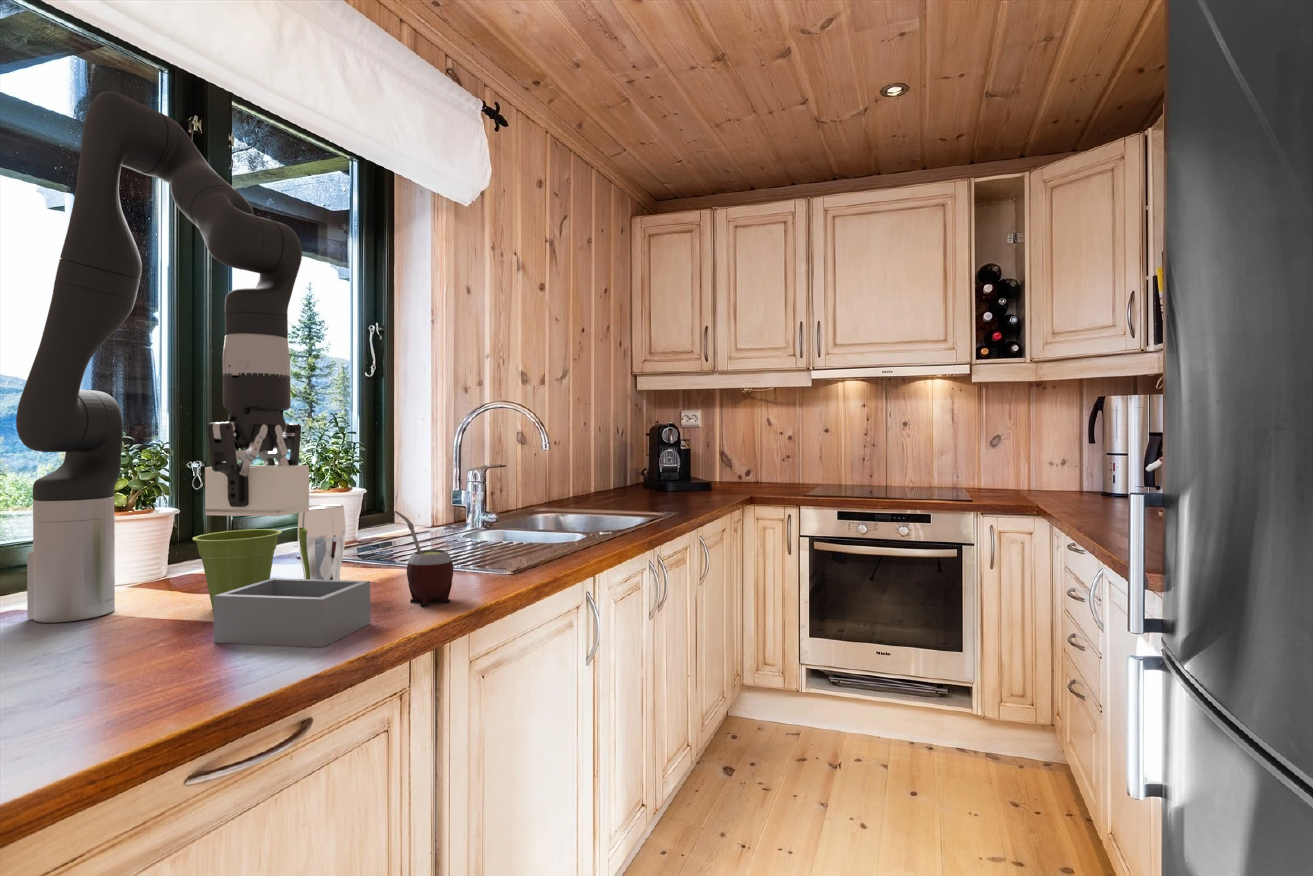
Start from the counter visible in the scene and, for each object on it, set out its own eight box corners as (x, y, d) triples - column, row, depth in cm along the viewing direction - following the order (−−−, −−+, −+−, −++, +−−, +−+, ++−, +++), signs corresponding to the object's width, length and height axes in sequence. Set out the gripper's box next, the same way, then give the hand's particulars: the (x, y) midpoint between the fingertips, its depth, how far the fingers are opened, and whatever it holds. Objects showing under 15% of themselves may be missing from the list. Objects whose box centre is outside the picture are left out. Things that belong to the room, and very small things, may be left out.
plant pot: (245, 595, 115) (244, 527, 115) (299, 601, 111) (299, 530, 111) (173, 612, 104) (173, 537, 104) (231, 619, 100) (230, 541, 100)
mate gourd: (459, 597, 114) (458, 505, 114) (442, 609, 106) (442, 511, 106) (413, 597, 114) (413, 505, 114) (394, 609, 106) (394, 510, 106)
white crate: (277, 516, 86) (276, 467, 86) (205, 515, 87) (205, 467, 87) (309, 511, 92) (308, 465, 92) (241, 510, 93) (241, 465, 93)
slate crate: (322, 647, 87) (322, 599, 87) (213, 642, 89) (213, 595, 89) (370, 623, 98) (370, 581, 98) (272, 620, 100) (272, 578, 100)
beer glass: (326, 605, 108) (326, 509, 108) (287, 603, 110) (287, 508, 110) (354, 595, 115) (354, 504, 115) (317, 593, 117) (317, 504, 116)
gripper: (270, 377, 97) (271, 498, 97) (185, 368, 83) (186, 509, 83) (319, 376, 96) (320, 499, 96) (241, 366, 82) (242, 510, 82)
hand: (258, 503), depth 89 cm, fingers closed on white crate, 6 cm apart
